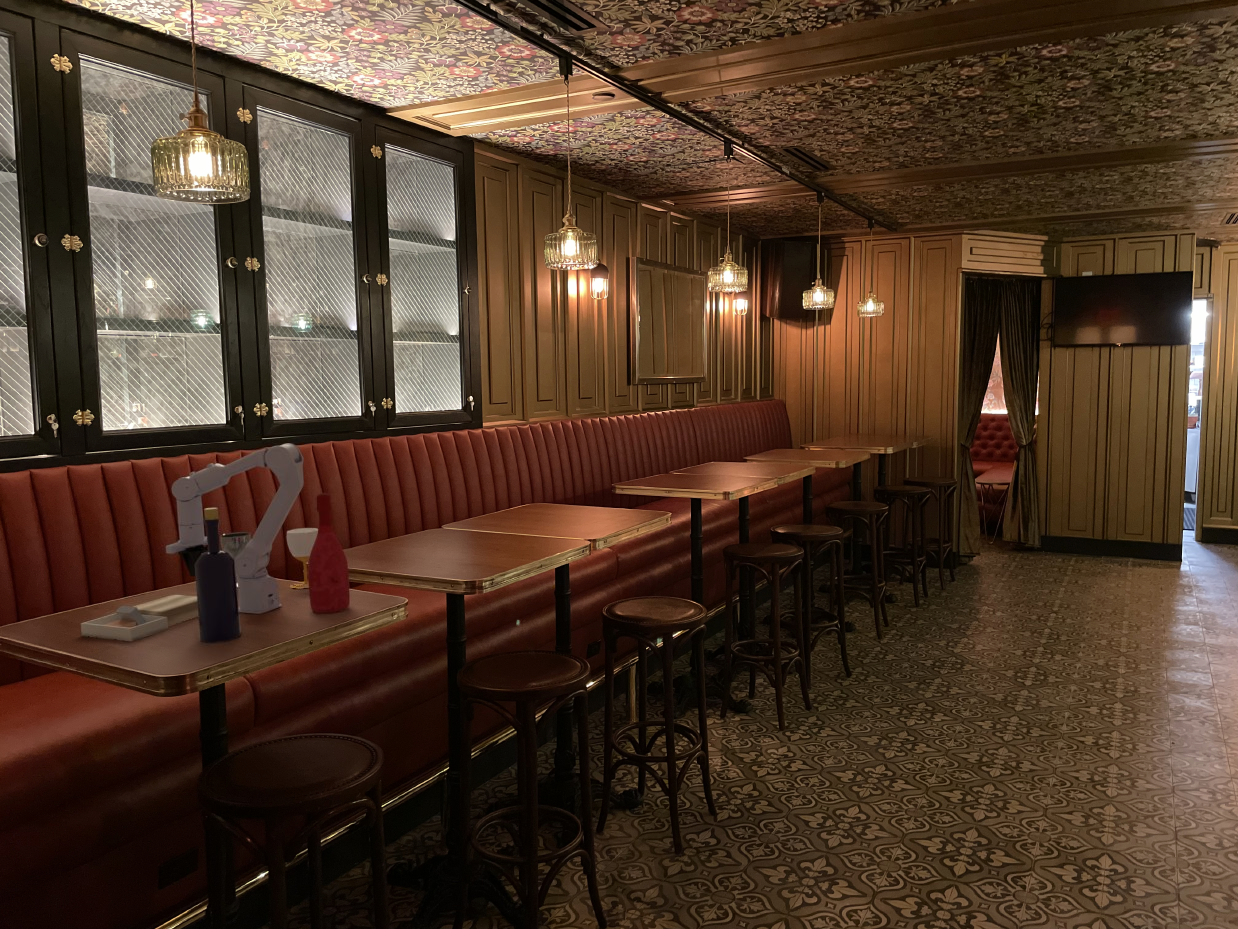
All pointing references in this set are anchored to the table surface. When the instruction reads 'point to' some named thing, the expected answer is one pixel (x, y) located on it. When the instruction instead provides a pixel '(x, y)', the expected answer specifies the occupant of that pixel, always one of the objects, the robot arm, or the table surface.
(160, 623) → the box
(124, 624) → the terracotta tile
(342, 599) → the wine bottle
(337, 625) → the table surface
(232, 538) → the wine glass
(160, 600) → the board
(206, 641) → the bottle
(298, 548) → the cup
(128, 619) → the slate tile
